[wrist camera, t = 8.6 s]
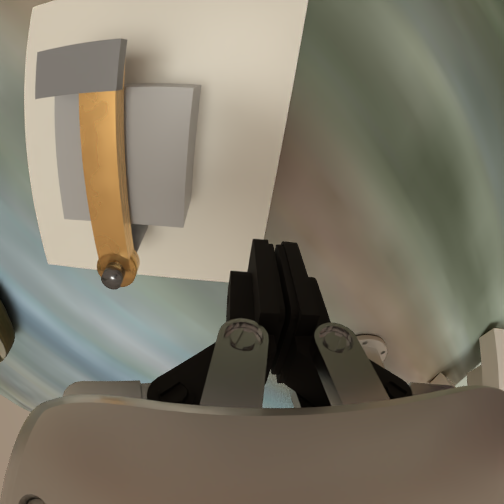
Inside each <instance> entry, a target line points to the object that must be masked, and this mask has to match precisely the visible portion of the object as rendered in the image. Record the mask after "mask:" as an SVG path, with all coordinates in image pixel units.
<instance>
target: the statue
mask: <svg viewBox="0 0 504 504" xmlns="http://www.w3.org/2000/svg"><path fill="white" fill-rule="evenodd" d="M14 339H15V332H14V329H13V325H12V323H11V320H10V318H9V316H8V314H7V311H6V309H5V307H4V305H3V304H2V302H1V300H0V362H2V361H3V360H4V358H5V357H6V356H7V354H8V353H9V351H10V349H11V347H12V345H13V343H14Z"/></svg>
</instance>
